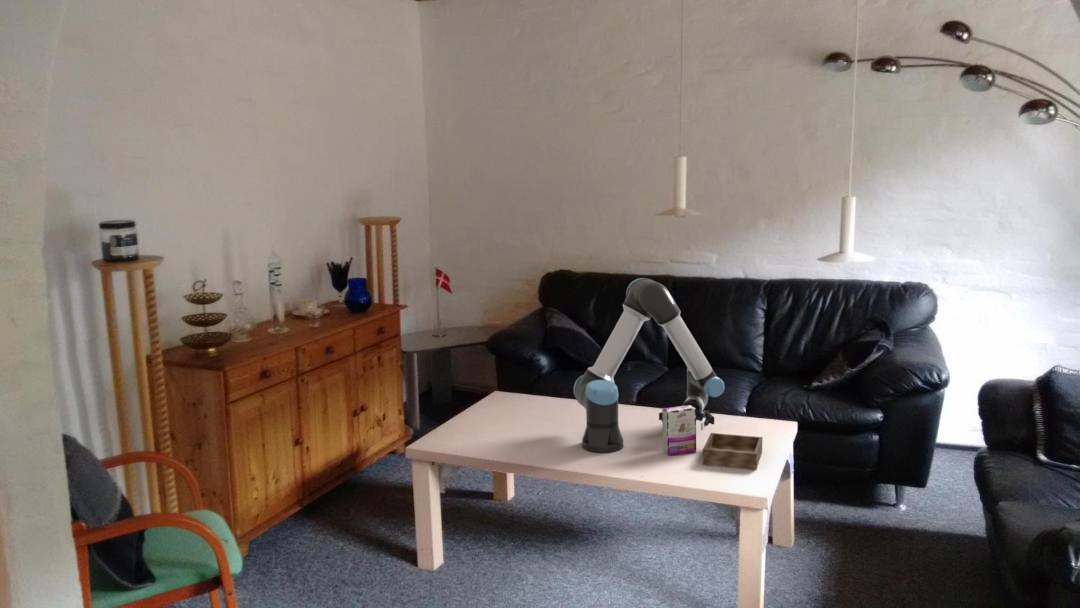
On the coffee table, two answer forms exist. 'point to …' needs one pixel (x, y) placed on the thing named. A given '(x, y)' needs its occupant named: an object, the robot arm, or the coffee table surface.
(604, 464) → the coffee table surface
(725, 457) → the walnut holder
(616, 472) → the coffee table surface
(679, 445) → the candy bar box
